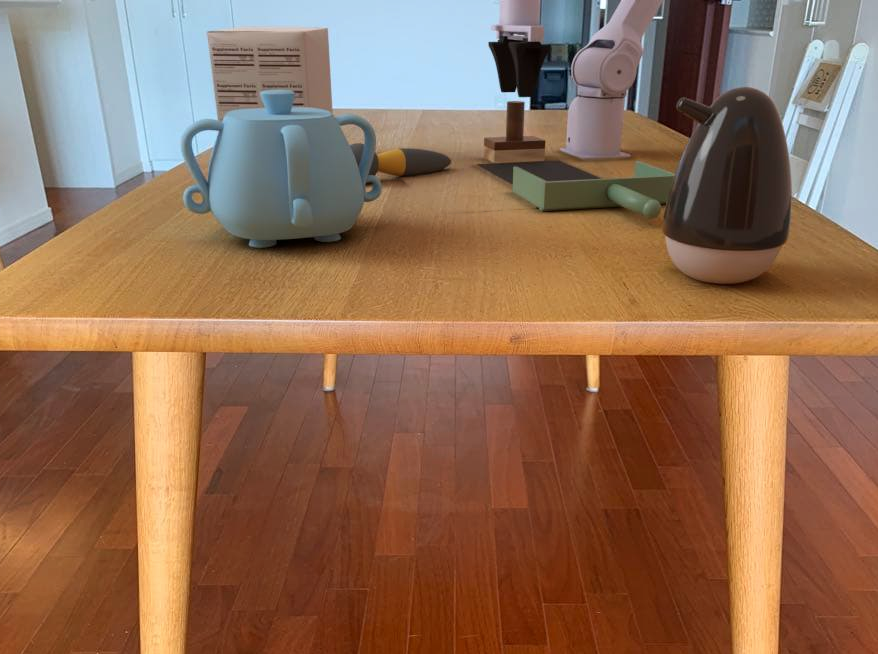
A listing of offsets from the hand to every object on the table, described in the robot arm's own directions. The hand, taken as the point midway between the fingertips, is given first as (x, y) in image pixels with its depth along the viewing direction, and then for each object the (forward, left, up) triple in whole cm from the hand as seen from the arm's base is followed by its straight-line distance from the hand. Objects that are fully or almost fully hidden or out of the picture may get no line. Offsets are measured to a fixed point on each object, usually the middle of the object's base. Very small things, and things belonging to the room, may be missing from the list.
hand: (516, 94), depth 118 cm
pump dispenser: (+60, -3, -10) cm, 61 cm away
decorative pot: (+36, -37, -10) cm, 53 cm away
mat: (+12, 0, -9) cm, 15 cm away
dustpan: (+33, 0, -9) cm, 35 cm away
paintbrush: (+9, -21, -10) cm, 25 cm away
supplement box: (-7, -34, -10) cm, 36 cm away
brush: (0, 0, -9) cm, 9 cm away
